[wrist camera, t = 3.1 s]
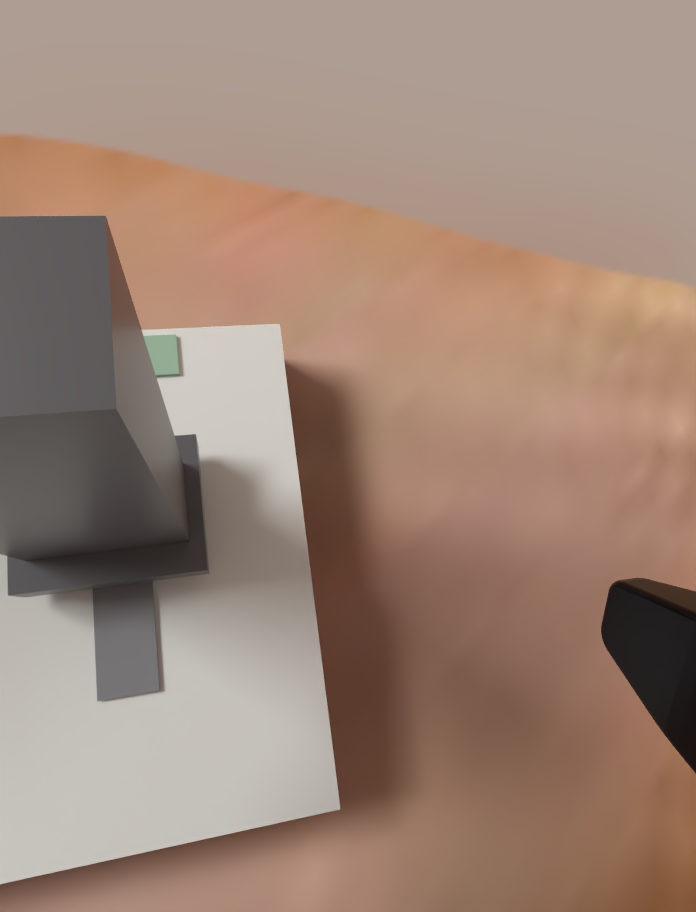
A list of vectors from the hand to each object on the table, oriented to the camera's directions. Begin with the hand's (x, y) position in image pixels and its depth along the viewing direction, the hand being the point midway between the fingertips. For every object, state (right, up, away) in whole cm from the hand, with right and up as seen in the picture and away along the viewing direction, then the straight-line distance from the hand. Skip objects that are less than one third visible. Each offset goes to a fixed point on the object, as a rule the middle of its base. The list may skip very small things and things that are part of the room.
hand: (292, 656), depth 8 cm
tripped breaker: (-4, +1, +5) cm, 7 cm away
